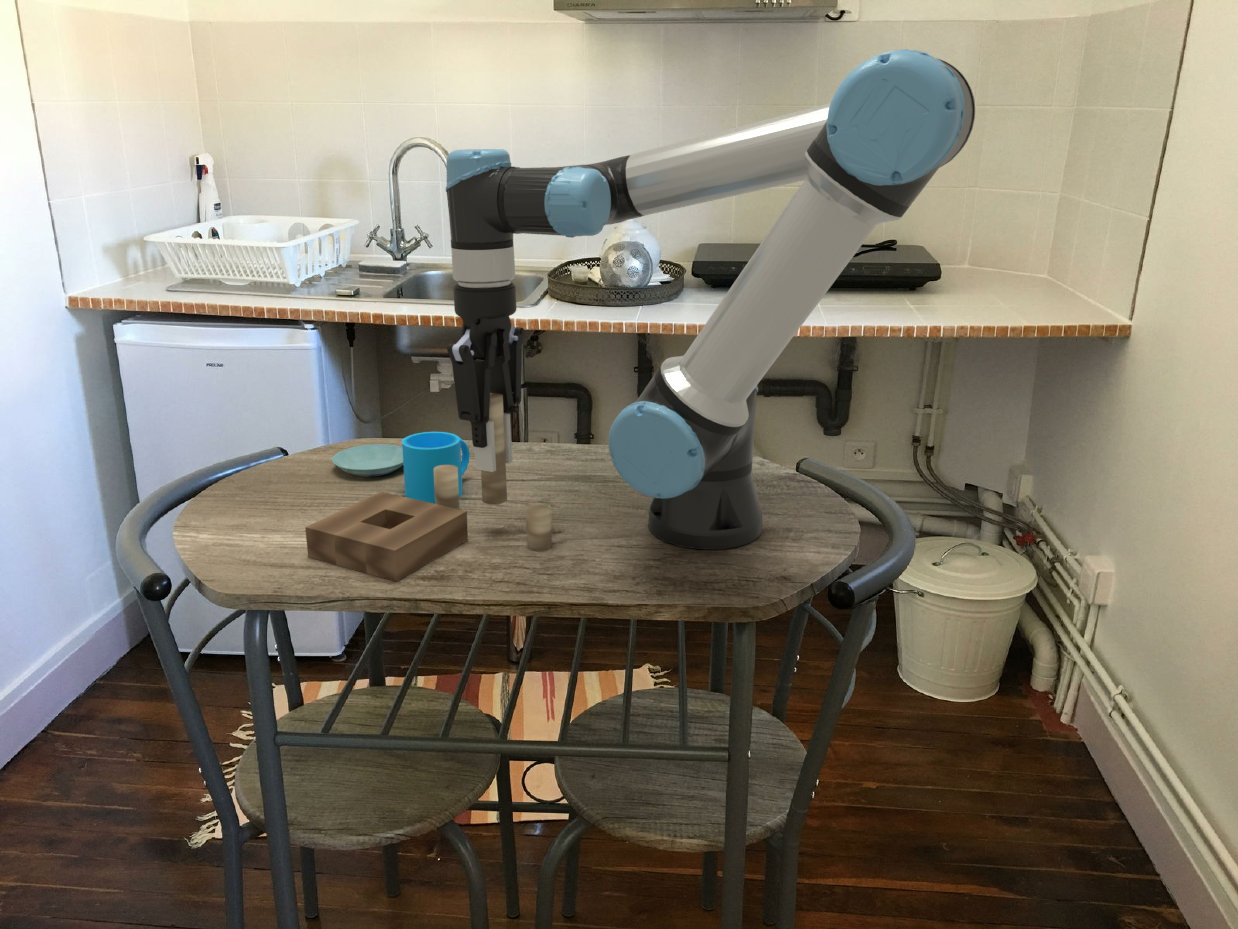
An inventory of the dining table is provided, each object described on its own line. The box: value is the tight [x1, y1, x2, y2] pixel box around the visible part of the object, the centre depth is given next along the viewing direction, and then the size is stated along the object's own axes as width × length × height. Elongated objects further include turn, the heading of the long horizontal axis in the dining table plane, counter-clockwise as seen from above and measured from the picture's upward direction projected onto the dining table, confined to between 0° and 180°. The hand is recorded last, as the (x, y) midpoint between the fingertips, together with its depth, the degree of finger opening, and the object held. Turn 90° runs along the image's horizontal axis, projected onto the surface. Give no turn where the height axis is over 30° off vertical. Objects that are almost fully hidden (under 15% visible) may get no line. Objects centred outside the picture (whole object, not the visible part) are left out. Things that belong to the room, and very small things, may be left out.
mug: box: [401, 431, 471, 504], centre depth 146 cm, size 12×8×8 cm
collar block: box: [304, 491, 469, 582], centre depth 127 cm, size 14×14×4 cm
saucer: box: [331, 443, 404, 478], centre depth 155 cm, size 12×12×2 cm
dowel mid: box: [434, 465, 460, 510], centre depth 136 cm, size 3×3×7 cm
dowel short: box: [525, 504, 553, 552], centre depth 128 cm, size 3×3×5 cm
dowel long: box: [480, 392, 508, 505], centre depth 129 cm, size 3×3×14 cm
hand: (494, 465), depth 130 cm, fingers closed on dowel long, 3 cm apart
